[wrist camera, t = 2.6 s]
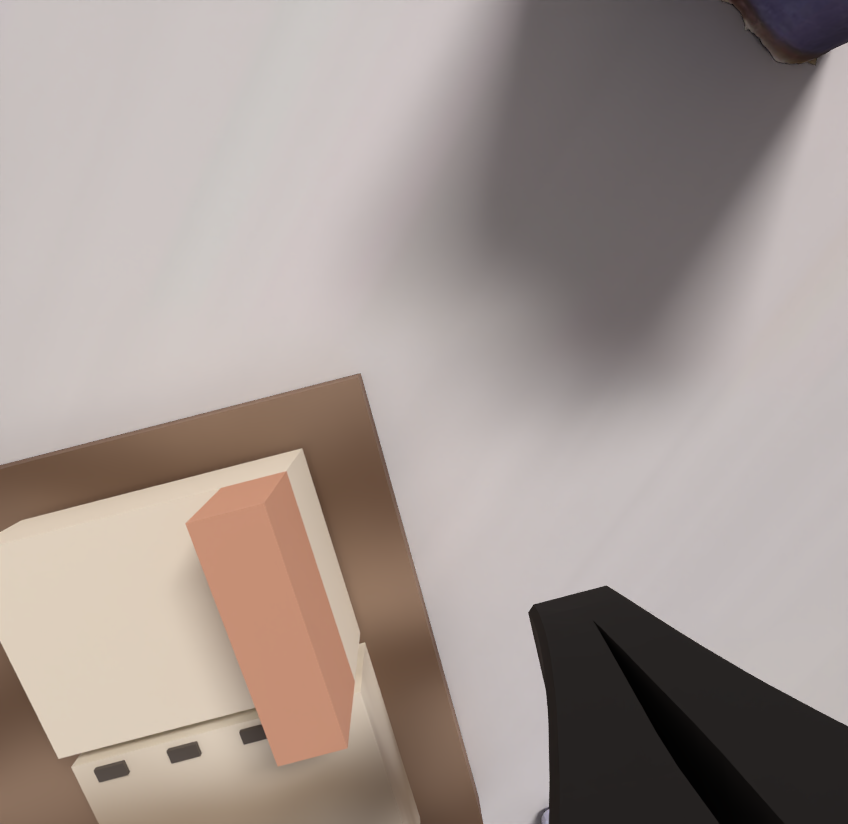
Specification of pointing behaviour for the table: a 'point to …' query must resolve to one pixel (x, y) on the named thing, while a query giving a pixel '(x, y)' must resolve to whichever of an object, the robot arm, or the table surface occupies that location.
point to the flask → (796, 26)
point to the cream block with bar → (184, 612)
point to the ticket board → (353, 544)
